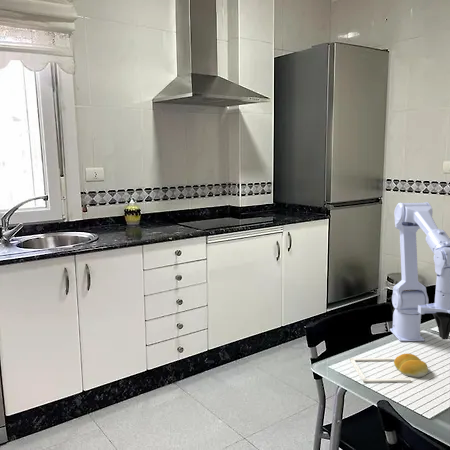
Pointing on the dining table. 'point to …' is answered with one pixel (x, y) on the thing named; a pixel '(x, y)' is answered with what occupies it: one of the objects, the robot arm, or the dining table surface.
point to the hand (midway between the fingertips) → (443, 337)
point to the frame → (375, 379)
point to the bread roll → (411, 365)
